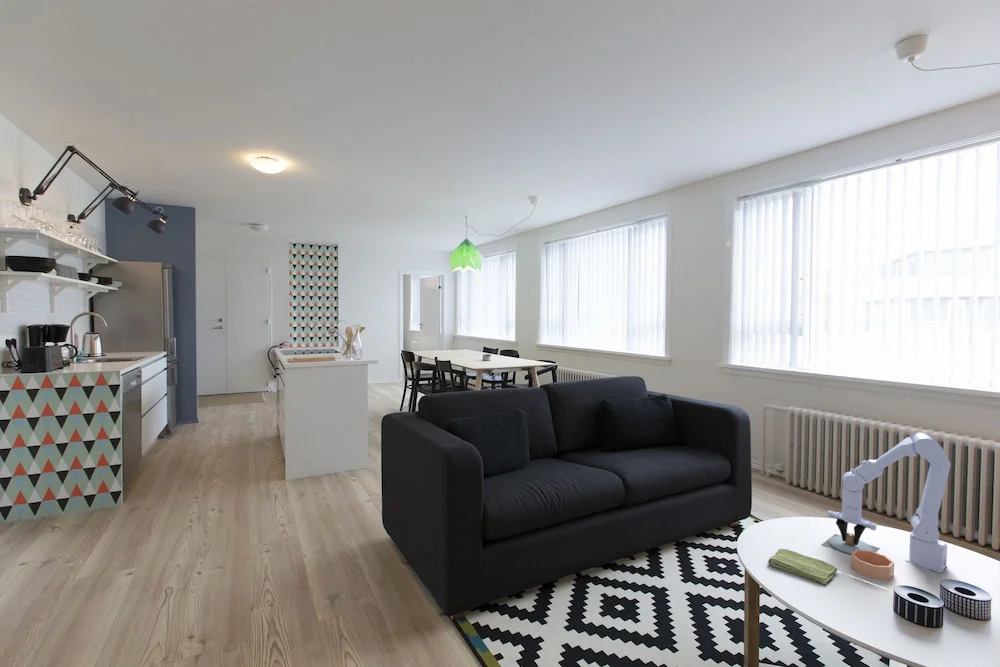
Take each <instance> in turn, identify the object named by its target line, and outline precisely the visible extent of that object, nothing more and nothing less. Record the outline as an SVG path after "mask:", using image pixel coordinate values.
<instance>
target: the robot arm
mask: <svg viewBox="0 0 1000 667" xmlns="http://www.w3.org/2000/svg"><path fill="white" fill-rule="evenodd" d="M943 448H944V447H942V446H941V445H940V443H938V442H937V440H935V439H934V438H933V437H932V436H931V435H929V434H928V433H925V432H916V433H913V434H912V435H911V436H907V437H906V438H904V439H903V440H902V441H900V442H899V443H898V444H896V445H895V446H893V447H892V448H891V449H889V450H888V451H887V452H885V453H883V454H882V455H880V456H879V457H878V458H877V459H868V460H865V459H864V460H862V461H861V464H860V465H858V466H856V467H855V468H851V469H850V471H847V472H844V474H843V476H841V480H842V482H843V487H842V492H841V493H842V498H841V499H842V500H841V512H837V511H833V510H828V511H827V516H826V517H828V518H833V519H836V521H835V525H837V528H838V530H839V532H840V536H842V540H843V541H845V538H846V533H848V525H849V524H853V525H855V526H854V527H853V532H854V533H853V534H854V535H855V538H854V545H858V543H859V540H860V538H861V536H862V535H863V533H864V531H865V530H866V528H867V529H870V530H871V531H876V530H877V523H875V522H872V521H869V520H867V519H864V518H862V507H863V506H862V503H863V502H862V501H863V500H862V499H863V495H862V490H864V487H865V484H868V483H870V482H872V481H873V480H874V479H876V478H878V477H879V476H881V475H883V474H884V469H885V468H886V467H888V466H889V465H890V466H891V464H893V463H895V462H896V461H899V460H901V459H902V458H904V457H917V454H918V455H919V456H921V457H922V458H924V459H926V461H927V462H928V463H929V468H928V471H927V475H926V479H925V484H924V487H923V492H922V496H921V498H920V499H921V500H920V502H919V506H918V507H917V508H916V509H915V512H914V514H913V515H912V516H910V519H909V522H910V525H911V527H912V528H913V529H912V530H911V531H910V534H909V553H908V556H907V557H906V558H905V560H904V561H905V562H907V563H909V564H912V565H916V566H919V567H922V568H925V569H928V570H930V571H934V572H936V573H940V574H942V573H943V571H945V569H946V567H947V566H948V565H947V559H948V545H947V543H945V542H942V541H940V540H939V538H940V531H939V511H940V508H941V505H942V501H943V497H944V494H945V490H946V486H947V481H948V477H949V473H950V469H951V465H952V464H951V461H950V460H949V458H948V456H947V455H946V452H945V451H944V449H943Z"/></svg>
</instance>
